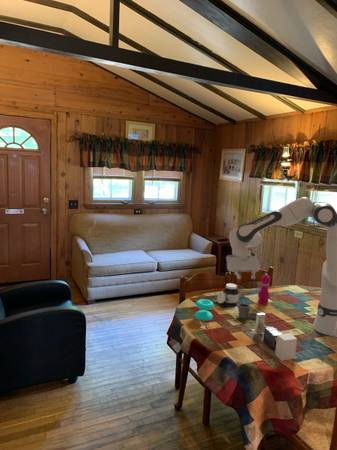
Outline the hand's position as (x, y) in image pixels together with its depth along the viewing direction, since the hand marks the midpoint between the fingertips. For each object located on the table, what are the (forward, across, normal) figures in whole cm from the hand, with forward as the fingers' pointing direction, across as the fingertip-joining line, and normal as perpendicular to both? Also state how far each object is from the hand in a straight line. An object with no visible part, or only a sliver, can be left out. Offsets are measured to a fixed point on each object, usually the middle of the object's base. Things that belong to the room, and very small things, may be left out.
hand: (246, 278), depth 190 cm
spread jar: (+4, +8, +36) cm, 37 cm away
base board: (+37, +1, -5) cm, 37 cm away
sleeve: (+37, +1, -6) cm, 37 cm away
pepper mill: (+6, +32, +30) cm, 44 cm away
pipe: (+18, +8, +18) cm, 27 cm away
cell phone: (+24, -15, +15) cm, 32 cm away
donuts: (+15, -17, +25) cm, 34 cm away
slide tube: (+33, +1, -4) cm, 34 cm away
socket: (+43, 0, -14) cm, 45 cm away
